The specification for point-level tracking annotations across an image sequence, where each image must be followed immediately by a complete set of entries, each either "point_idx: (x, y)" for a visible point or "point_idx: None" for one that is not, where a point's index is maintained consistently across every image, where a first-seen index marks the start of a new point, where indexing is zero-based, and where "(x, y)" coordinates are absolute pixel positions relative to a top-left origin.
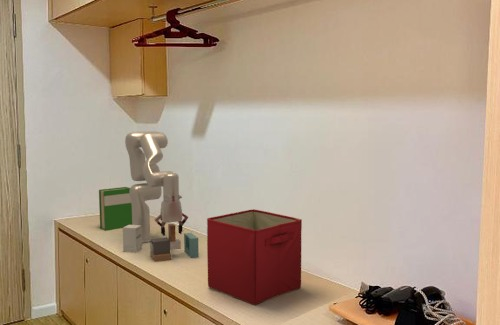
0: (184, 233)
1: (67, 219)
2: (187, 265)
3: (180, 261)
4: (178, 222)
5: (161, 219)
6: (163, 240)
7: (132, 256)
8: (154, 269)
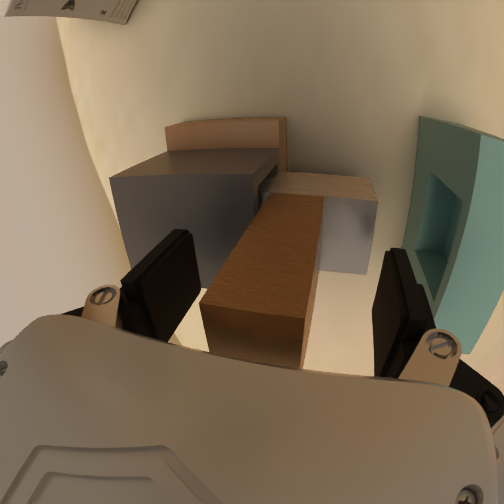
0: (483, 142)
1: None
2: (327, 346)
3: (323, 288)
4: (402, 371)
5: (37, 318)
6: (202, 275)
7: (104, 97)
8: (191, 323)
